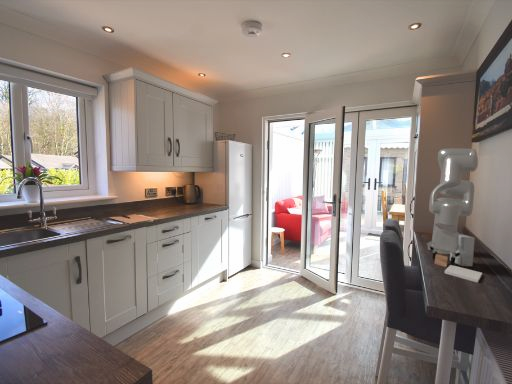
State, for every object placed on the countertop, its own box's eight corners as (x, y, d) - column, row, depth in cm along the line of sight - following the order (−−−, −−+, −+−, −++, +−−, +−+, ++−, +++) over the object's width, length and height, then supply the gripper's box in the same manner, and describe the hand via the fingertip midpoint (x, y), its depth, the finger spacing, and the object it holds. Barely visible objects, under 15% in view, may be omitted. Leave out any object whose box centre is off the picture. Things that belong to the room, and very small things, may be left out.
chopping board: (450, 267, 130) (450, 264, 130) (481, 275, 121) (482, 272, 121) (444, 273, 122) (444, 270, 122) (477, 282, 113) (478, 279, 113)
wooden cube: (436, 261, 137) (438, 252, 136) (448, 264, 133) (449, 255, 133) (434, 263, 134) (435, 254, 133) (446, 267, 130) (447, 257, 129)
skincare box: (472, 266, 132) (476, 237, 130) (460, 266, 132) (465, 237, 130) (459, 260, 140) (462, 233, 139) (448, 260, 140) (451, 232, 138)
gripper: (425, 225, 134) (421, 259, 136) (468, 232, 122) (463, 269, 124) (429, 223, 140) (425, 256, 141) (470, 230, 127) (465, 266, 129)
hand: (443, 262), depth 133 cm, fingers open, 6 cm apart
